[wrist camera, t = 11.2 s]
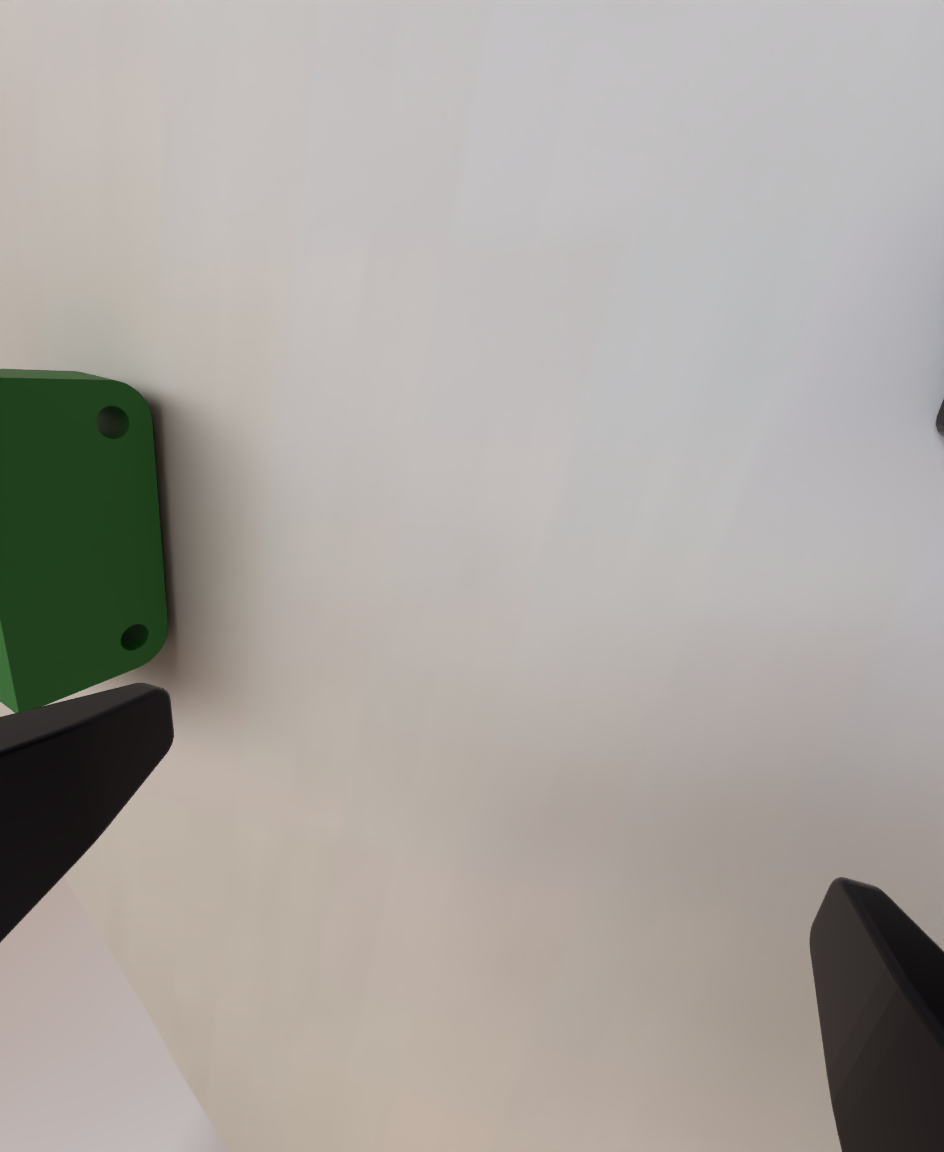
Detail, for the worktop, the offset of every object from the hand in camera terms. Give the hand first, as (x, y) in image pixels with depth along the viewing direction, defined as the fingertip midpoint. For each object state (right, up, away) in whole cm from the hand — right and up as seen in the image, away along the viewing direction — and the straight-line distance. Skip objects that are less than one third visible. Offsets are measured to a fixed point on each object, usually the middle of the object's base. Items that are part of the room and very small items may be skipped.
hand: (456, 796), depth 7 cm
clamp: (-15, +6, +16) cm, 23 cm away
